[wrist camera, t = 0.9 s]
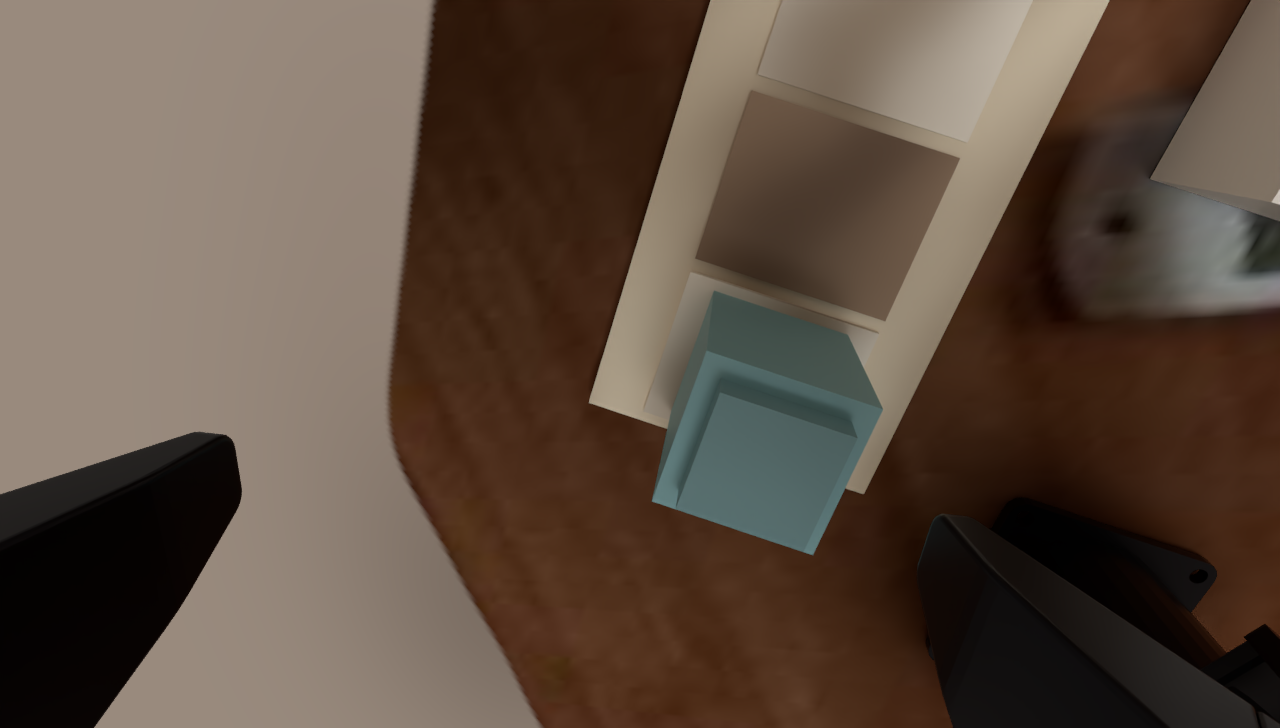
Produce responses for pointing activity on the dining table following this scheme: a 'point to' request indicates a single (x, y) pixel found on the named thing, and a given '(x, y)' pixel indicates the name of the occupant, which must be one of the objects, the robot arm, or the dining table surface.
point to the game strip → (838, 180)
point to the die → (1235, 122)
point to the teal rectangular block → (766, 424)
